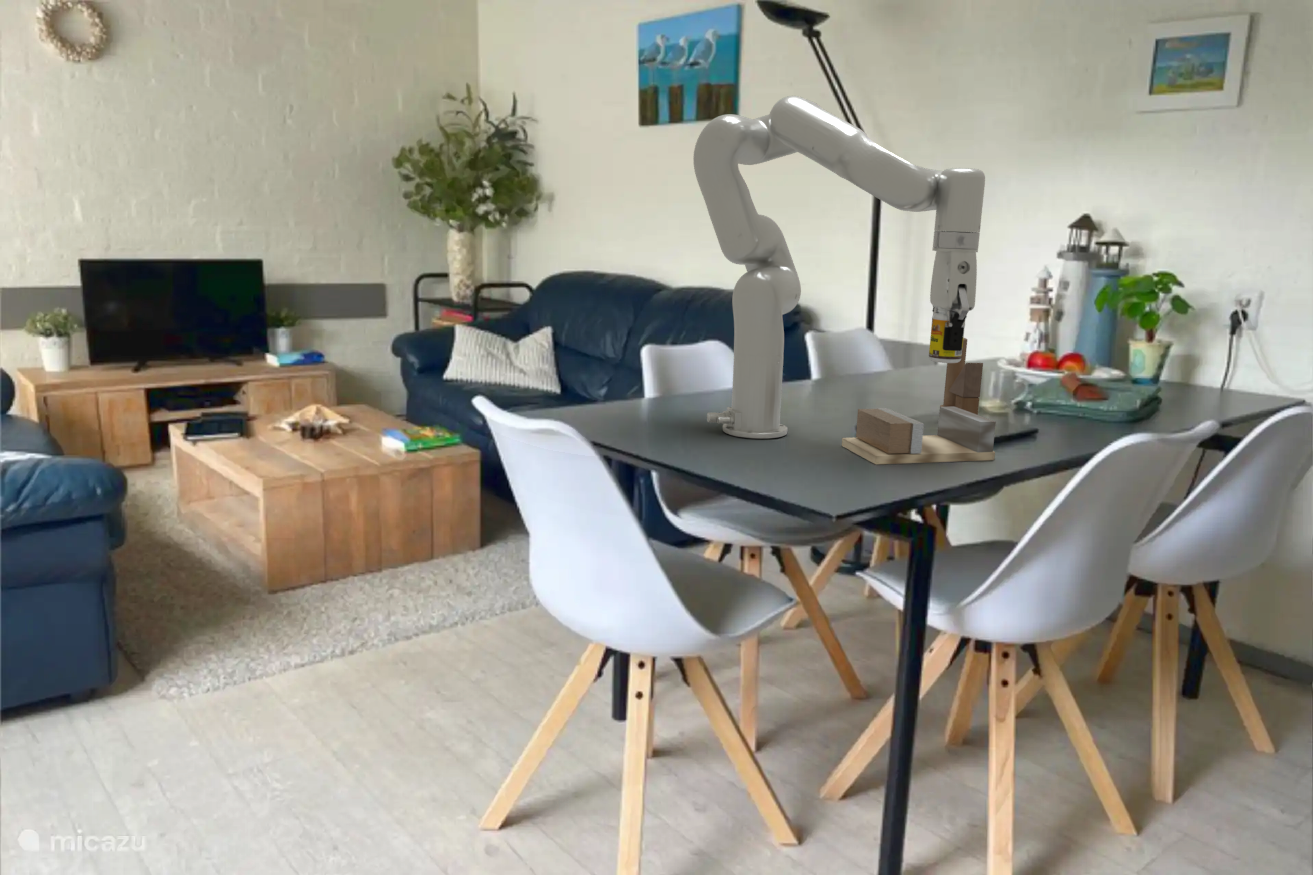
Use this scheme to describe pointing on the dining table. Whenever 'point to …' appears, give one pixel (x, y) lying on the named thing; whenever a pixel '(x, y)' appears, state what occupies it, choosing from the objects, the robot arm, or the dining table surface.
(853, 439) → the vise bed
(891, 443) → the block
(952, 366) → the wooden block
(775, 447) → the dining table surface
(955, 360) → the supplement bottle
